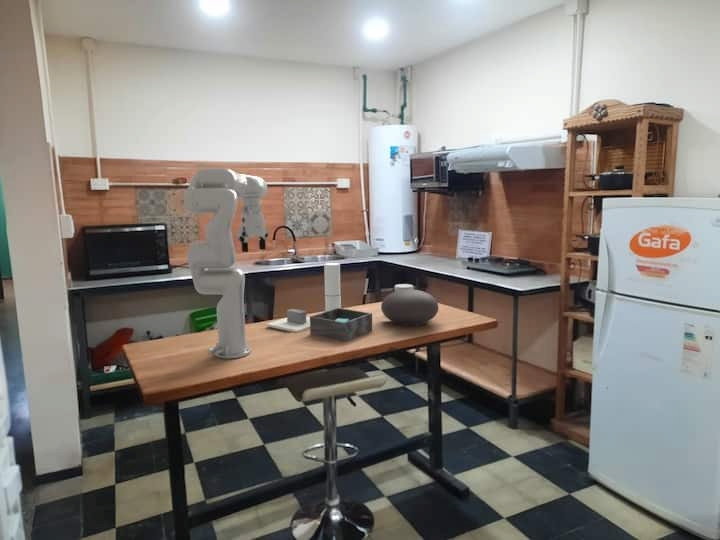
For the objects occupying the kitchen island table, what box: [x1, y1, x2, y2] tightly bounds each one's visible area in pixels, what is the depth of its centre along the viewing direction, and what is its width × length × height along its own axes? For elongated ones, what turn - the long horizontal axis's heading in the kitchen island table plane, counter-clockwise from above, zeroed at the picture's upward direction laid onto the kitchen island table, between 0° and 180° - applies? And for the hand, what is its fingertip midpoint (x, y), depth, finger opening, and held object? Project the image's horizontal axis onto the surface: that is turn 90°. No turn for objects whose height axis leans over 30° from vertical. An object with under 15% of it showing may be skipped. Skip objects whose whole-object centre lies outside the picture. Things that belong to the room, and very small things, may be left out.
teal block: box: [335, 318, 349, 322], centre depth 199 cm, size 5×5×5 cm
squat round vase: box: [380, 288, 439, 326], centre depth 213 cm, size 25×25×15 cm
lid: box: [265, 308, 310, 333], centre depth 213 cm, size 19×19×7 cm
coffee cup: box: [393, 283, 415, 292], centre depth 238 cm, size 9×9×12 cm
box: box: [309, 307, 373, 342], centre depth 199 cm, size 18×18×8 cm
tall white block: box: [323, 262, 342, 312], centre depth 225 cm, size 7×7×25 cm
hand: (254, 250), depth 208 cm, fingers open, 9 cm apart
